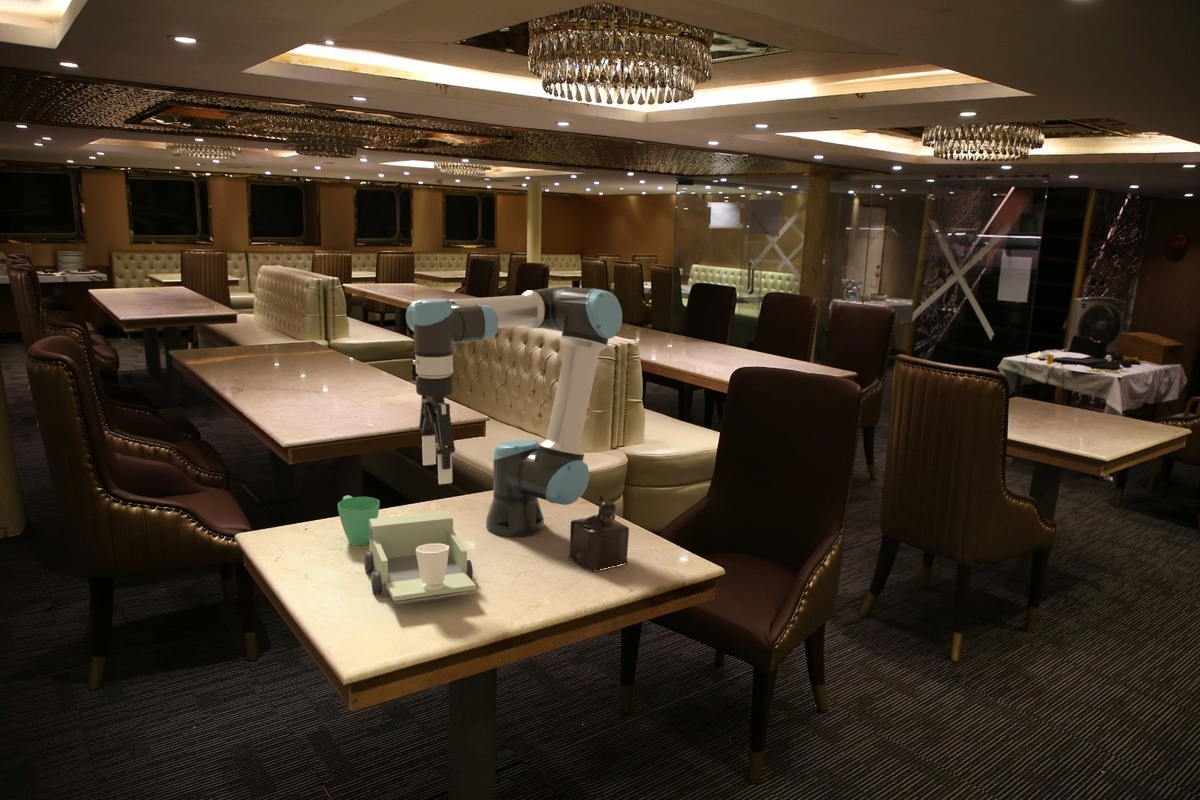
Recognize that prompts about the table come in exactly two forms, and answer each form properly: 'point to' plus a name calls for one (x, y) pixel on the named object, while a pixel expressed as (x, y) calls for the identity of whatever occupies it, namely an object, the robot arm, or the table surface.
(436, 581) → the cup
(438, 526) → the pickup truck
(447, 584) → the panel
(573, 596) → the table surface
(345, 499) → the mug
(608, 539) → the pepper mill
